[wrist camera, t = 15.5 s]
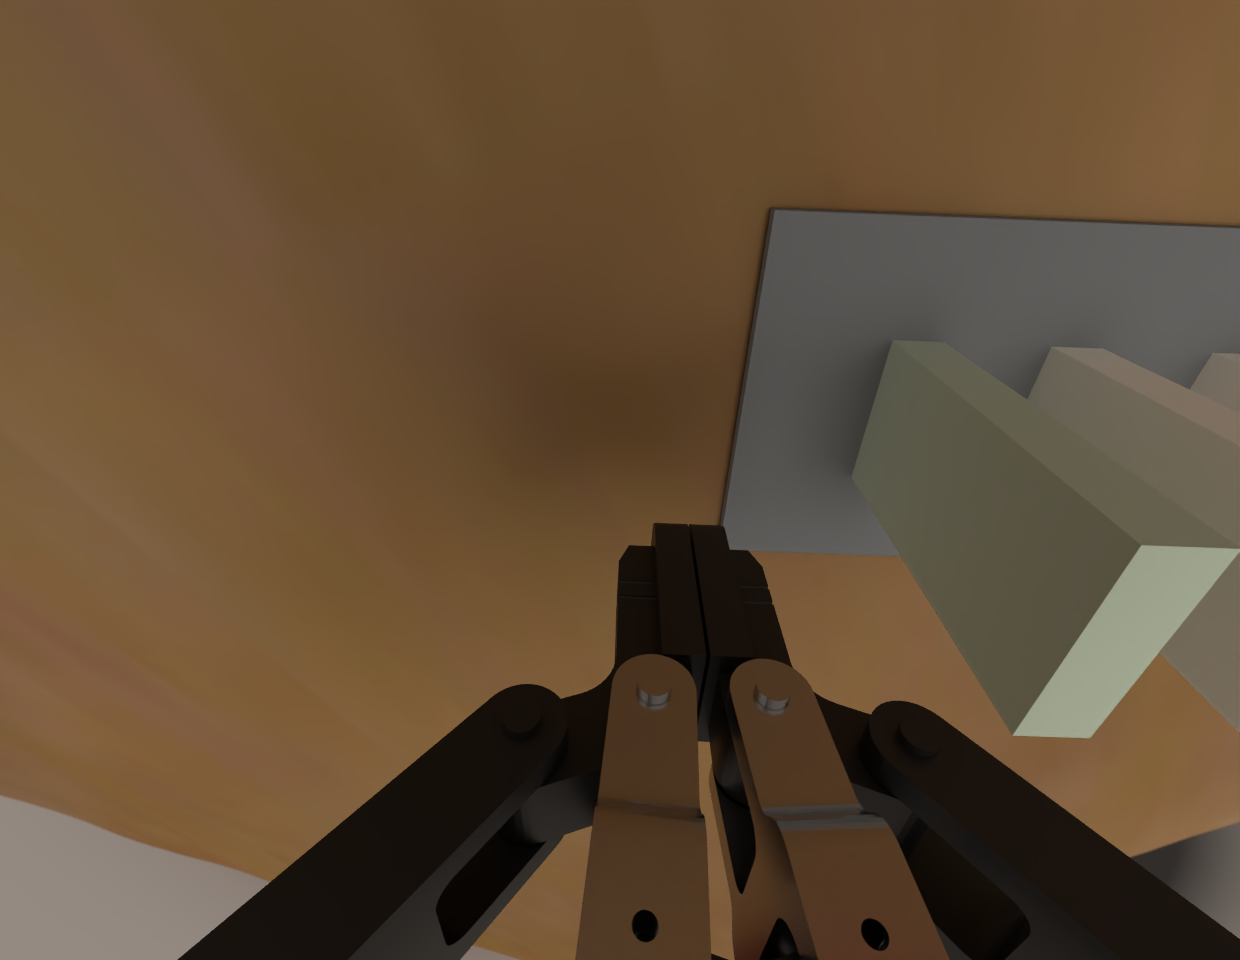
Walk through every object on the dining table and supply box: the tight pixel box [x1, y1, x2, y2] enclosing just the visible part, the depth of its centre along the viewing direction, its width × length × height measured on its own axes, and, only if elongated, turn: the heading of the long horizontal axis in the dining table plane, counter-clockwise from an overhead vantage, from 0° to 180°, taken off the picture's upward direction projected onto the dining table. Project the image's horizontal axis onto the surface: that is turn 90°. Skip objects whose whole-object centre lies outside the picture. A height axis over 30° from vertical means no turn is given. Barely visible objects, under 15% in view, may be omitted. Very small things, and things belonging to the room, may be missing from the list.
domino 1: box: [851, 340, 1240, 738], centre depth 14 cm, size 2×5×10 cm, turn 178°
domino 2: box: [1027, 347, 1240, 733], centre depth 14 cm, size 2×5×10 cm, turn 178°
